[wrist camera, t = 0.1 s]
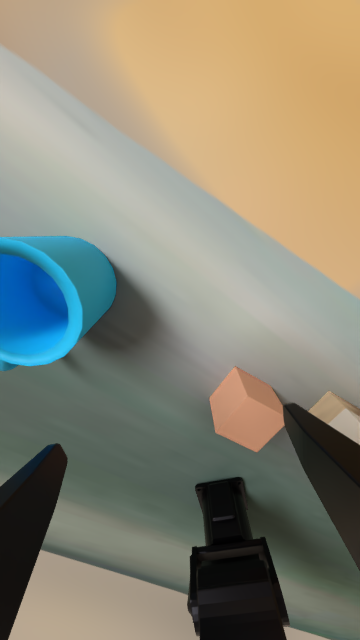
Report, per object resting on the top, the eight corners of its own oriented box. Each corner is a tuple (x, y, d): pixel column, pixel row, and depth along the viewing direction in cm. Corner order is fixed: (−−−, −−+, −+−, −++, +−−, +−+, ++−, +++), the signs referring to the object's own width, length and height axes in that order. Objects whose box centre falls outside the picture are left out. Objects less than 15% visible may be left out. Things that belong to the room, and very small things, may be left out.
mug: (52, 215, 19) (-30, 203, 12) (133, 272, 21) (107, 294, 14) (0, 321, 23) (-89, 364, 15) (74, 362, 25) (26, 420, 17)
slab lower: (363, 410, 27) (384, 430, 25) (327, 442, 29) (343, 464, 26) (327, 389, 26) (345, 407, 23) (292, 423, 28) (305, 444, 25)
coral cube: (270, 385, 26) (290, 419, 21) (243, 415, 27) (256, 452, 23) (234, 365, 25) (247, 396, 20) (209, 397, 26) (215, 432, 22)
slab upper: (384, 431, 25) (411, 456, 22) (343, 464, 26) (362, 491, 24) (345, 408, 23) (368, 431, 21) (305, 444, 25) (320, 470, 22)
